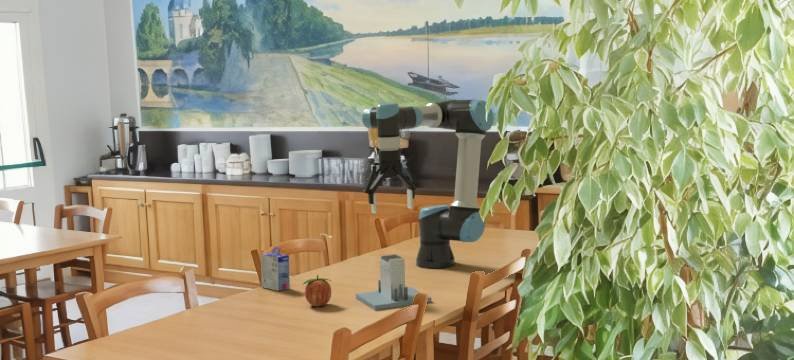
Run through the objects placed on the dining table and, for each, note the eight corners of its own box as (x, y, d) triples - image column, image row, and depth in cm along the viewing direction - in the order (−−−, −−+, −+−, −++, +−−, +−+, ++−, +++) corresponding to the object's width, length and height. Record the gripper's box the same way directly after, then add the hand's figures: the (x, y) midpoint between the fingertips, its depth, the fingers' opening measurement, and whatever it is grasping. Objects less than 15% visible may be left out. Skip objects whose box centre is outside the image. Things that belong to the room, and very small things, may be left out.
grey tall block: (394, 291, 283) (393, 253, 282) (405, 297, 275) (404, 258, 274) (380, 293, 281) (379, 255, 280) (391, 299, 273) (389, 260, 272)
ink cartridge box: (291, 288, 298) (289, 248, 297) (279, 291, 294) (277, 251, 293) (273, 284, 305) (271, 245, 303) (261, 287, 301) (259, 247, 299)
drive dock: (410, 290, 290) (409, 275, 290) (431, 302, 275) (431, 285, 274) (355, 298, 282) (355, 282, 282) (374, 310, 267) (374, 293, 266)
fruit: (334, 307, 271) (332, 277, 270) (304, 310, 270) (303, 279, 268) (331, 301, 280) (330, 271, 278) (302, 303, 278) (301, 273, 277)
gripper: (417, 145, 293) (420, 205, 296) (351, 151, 283) (354, 213, 286) (427, 146, 287) (429, 208, 289) (359, 153, 276) (363, 216, 279)
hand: (392, 211), depth 288 cm, fingers open, 13 cm apart
